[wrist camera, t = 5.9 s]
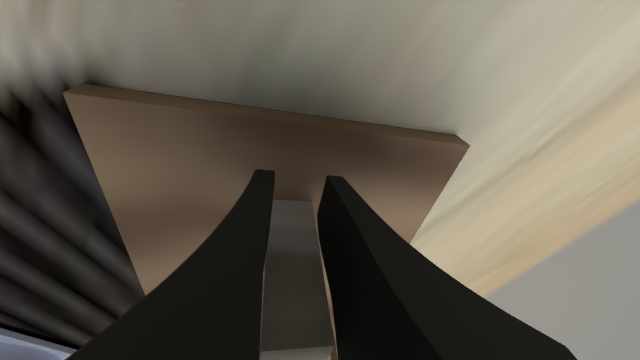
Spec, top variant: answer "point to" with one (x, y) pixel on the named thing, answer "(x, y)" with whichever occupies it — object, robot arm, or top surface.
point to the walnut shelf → (242, 167)
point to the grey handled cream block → (294, 288)
